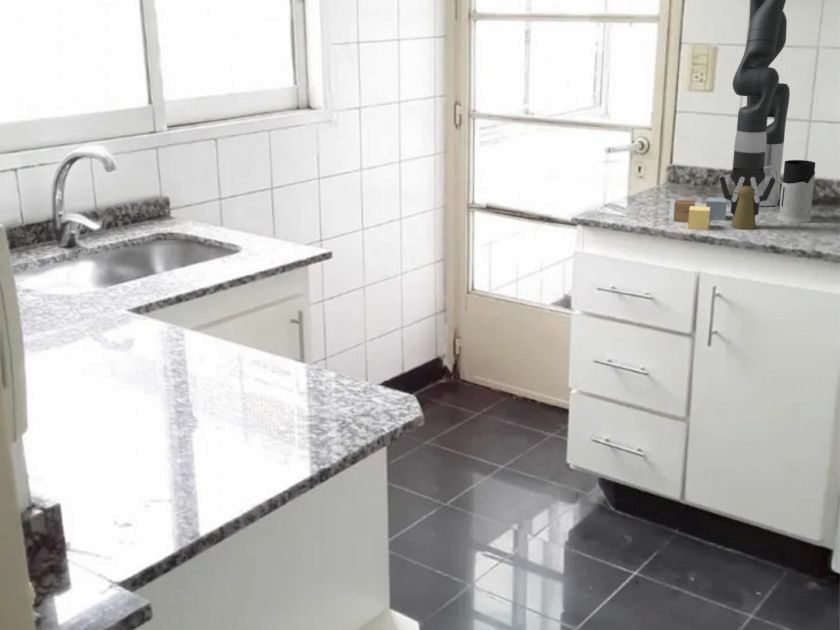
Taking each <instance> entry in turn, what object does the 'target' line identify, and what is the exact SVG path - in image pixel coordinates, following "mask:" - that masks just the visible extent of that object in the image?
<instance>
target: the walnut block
mask: <svg viewBox="0 0 840 630" xmlns="http://www.w3.org/2000/svg"><path fill="white" fill-rule="evenodd" d="M690 206H696V199H678V198H676V199H675V200H674V210H673V222H676V223H677V222H678V223H680V222H681V223H682V222H683V223H688V220H689V209H690Z"/></svg>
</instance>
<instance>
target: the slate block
mask: <svg viewBox="0 0 840 630" xmlns="http://www.w3.org/2000/svg"><path fill="white" fill-rule="evenodd" d="M727 200H728V199H725V197H706V206H705V207H710V216H709V221H726V216H727V215H726V213H727V202H728V201H727Z"/></svg>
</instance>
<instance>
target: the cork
mask: <svg viewBox="0 0 840 630" xmlns="http://www.w3.org/2000/svg"><path fill="white" fill-rule="evenodd" d="M738 189H739V188H738ZM754 190H755V189H754V188H753V187H752V186H751V185H742V187H740V189H739V191H738V194H737V195H738V198H737V207H736V211H735V215H734V216H733V215H732V220H731V224H730V227H731V228H734V229H738V230H753V229H756V216H755V217H754V207H753V204H754V196H755V191H754Z"/></svg>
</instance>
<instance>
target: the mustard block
mask: <svg viewBox="0 0 840 630" xmlns="http://www.w3.org/2000/svg"><path fill="white" fill-rule="evenodd" d="M709 216H710V207H706V206H702V205H701V206H700V205H698V206H697V205H695V206H690V209H689V220H688V222H687V223H688V224H687V229H688V230H700V231H702V230H703V231H709V228H710V220H709Z"/></svg>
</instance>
